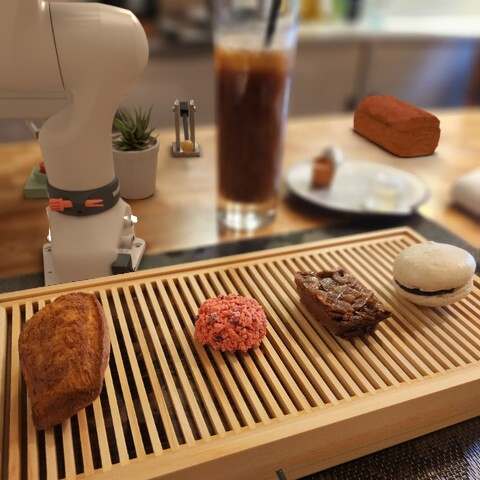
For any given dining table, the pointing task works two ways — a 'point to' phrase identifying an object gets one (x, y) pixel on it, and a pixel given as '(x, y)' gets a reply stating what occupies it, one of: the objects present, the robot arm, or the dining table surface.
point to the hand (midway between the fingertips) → (42, 138)
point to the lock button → (42, 167)
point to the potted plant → (135, 156)
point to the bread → (397, 126)
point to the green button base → (36, 184)
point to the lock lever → (185, 128)
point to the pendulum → (177, 145)
